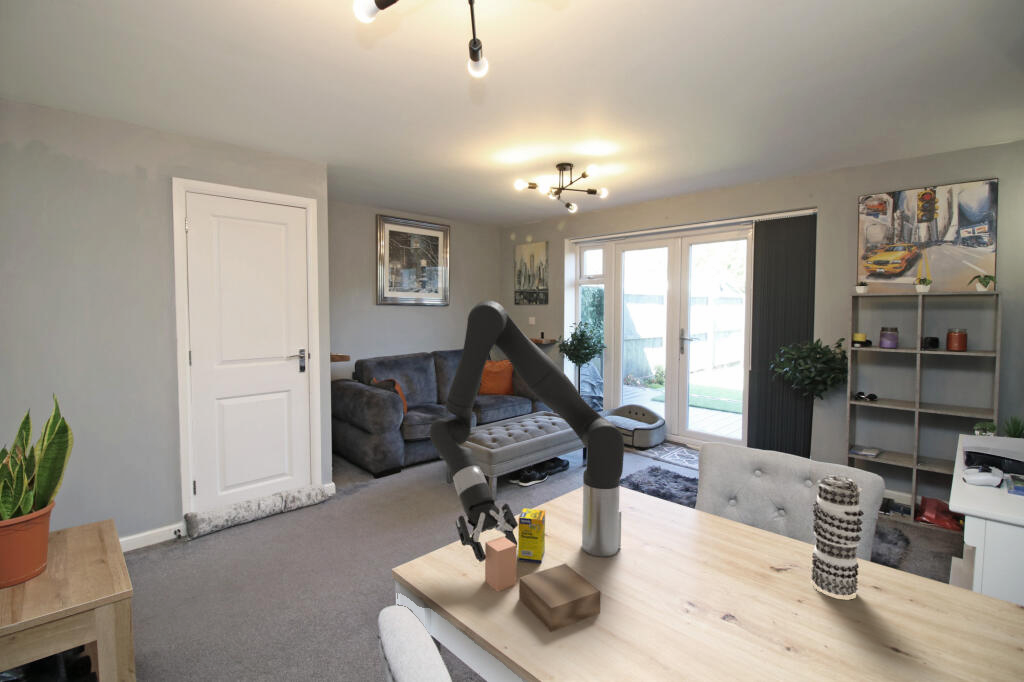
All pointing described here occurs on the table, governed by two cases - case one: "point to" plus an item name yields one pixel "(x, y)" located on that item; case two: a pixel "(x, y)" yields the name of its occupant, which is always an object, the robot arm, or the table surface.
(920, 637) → the table surface
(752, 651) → the table surface
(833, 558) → the decorative candle
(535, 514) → the supplement box
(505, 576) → the terracotta block
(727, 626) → the table surface
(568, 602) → the walnut block
